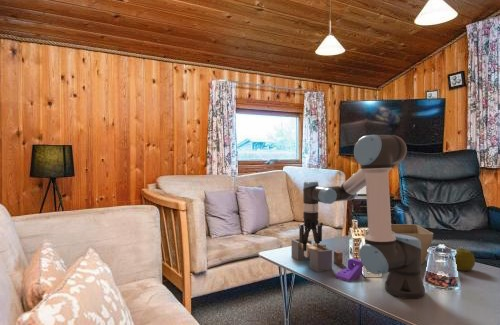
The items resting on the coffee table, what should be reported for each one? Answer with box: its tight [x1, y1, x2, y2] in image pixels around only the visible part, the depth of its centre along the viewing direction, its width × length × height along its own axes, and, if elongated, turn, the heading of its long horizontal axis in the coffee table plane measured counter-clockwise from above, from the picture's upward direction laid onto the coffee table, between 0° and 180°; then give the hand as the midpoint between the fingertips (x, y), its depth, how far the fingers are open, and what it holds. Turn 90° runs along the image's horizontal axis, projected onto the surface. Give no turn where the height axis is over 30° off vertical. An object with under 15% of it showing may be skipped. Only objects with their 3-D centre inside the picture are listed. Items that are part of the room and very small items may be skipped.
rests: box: [318, 243, 344, 266], centre depth 181 cm, size 17×3×6 cm, turn 24°
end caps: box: [291, 238, 333, 273], centre depth 176 cm, size 24×8×10 cm, turn 24°
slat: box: [300, 243, 323, 253], centre depth 176 cm, size 18×4×2 cm, turn 24°
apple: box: [455, 248, 476, 272], centre depth 165 cm, size 10×10×11 cm
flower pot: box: [391, 223, 434, 265], centre depth 178 cm, size 19×19×17 cm
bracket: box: [335, 258, 364, 283], centre depth 158 cm, size 12×7×7 cm, turn 132°
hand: (310, 255), depth 176 cm, fingers open, 5 cm apart
